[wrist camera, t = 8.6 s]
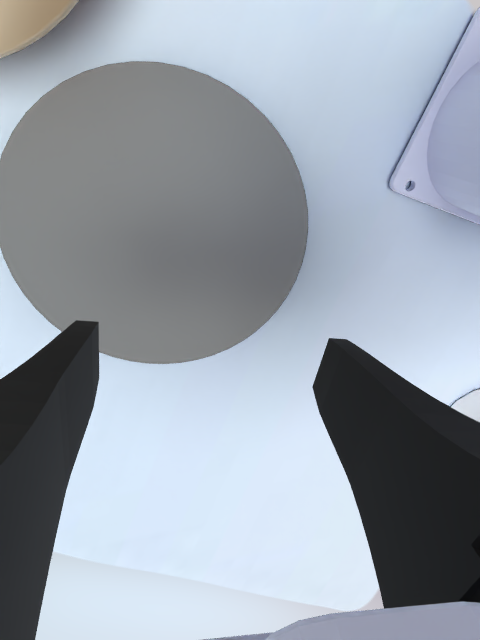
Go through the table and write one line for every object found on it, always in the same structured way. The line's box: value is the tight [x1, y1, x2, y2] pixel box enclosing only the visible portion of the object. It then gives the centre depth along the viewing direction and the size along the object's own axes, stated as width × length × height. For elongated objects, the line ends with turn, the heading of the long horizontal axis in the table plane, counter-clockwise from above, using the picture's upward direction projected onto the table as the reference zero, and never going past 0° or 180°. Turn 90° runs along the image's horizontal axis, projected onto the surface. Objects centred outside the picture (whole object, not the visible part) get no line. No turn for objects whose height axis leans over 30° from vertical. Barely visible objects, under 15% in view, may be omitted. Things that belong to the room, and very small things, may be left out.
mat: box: [0, 62, 308, 364], centre depth 19 cm, size 15×15×1 cm
